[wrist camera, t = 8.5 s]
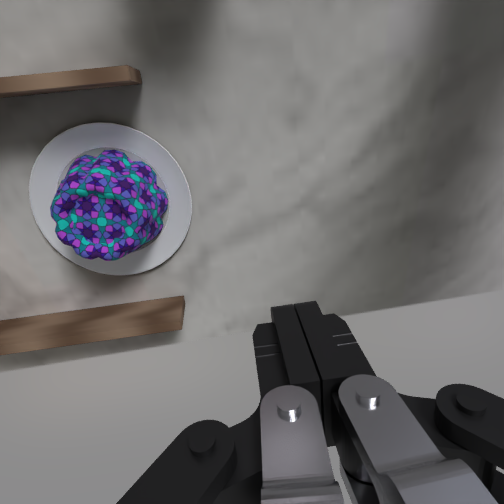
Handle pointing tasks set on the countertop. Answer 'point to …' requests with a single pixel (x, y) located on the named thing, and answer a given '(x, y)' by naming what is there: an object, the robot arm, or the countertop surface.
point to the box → (94, 319)
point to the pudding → (109, 199)
